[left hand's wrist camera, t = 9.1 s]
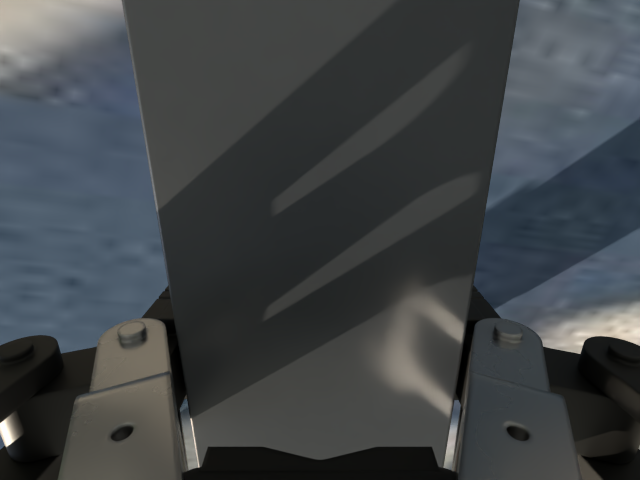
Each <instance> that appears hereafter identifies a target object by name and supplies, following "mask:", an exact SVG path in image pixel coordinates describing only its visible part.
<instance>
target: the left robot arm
mask: <svg viewBox="0 0 640 480" xmlns="http://www.w3.org/2000/svg"><path fill="white" fill-rule="evenodd" d="M184 399H187V395H186V389H185V383H184V376H183V370H182V364H181V358H180V352H179V346H178V340H177V334H176V328H175V321H174V315H173V309H172V303H171V297H170V291H169V285H168V287H167V288H166V289H165V291H163V293H162V294H161V295H160V296H159V299H157V300H156V301H155V302H154V303H153V305H152V306H151V307H150V308H149V309H148V311H147V312H146V313H145V314H144V316H143V317H142V318H139V319H133V320H129V321H126V322H123V323H120V324H118V325H116V326H114V327H112V328H110V329H109V330H107V331H106V332H105V333H104V334H103V335H102V336H101V337H100V338H99V340H98V344H97V347H94V348H89V349H83V350H78V351H73V352H67V353H62V354H61V352H60V349H59V345H58V342H57V340H56V339H55V338H53V337H51V336H45V335H38V336H29V337H24V338H20V339H17V340H13V341H11V342H8V343H5V344H3V345H1V346H0V434H1V436H2V439H3V441H4V444H5V446H4V447H3V448H2V449H1V450H0V480H640V450H639V449H638V448H639V445H640V346H638V345H636V344H634V343H631V342H628V341H625V340H621V339H617V338H612V337H604V336H597V337H591V338H588V339H587V340H585V342H584V345H583V348H582V351H581V354H577V353H572V352H566V351H561V350H556V349H551V348H546V347H543V344H542V340H541V338H540V337H539V336H538V335H537V334H536V333H535V332H534V331H533V330H531V329H530V328H528V327H526V326H524V325H522V324H520V323H517V322H514V321H511V320H507V319H501V318H500V316H499V315H498V314H497V313H496V312H495V310H494V309H493V308H492V307H491V306H490V304H489V303H488V302H487V301H486V300H485V299H484V297H483V296H482V295H481V294H480V292H478V291H477V289H476V288H475V287H474V285H473V289H472V295H471V301H470V307H469V313H468V319H467V325H466V331H465V338H464V344H463V350H462V356H461V362H460V368H459V374H458V380H457V386H456V393H455V399H454V400H459V402H460V404H461V408H460V414H459V420H458V427H457V434H456V442H455V449H454V457H453V464H452V471H451V470H448V469H445V468H442V467H438V464H437V460H436V457H435V454H434V451H433V448H432V447H373V448H369V449H365V450H361V451H357V452H353V453H349V454H345V455H341V456H337V457H332V458H328V459H323V460H317V459H312V458H308V457H303V456H299V455H295V454H291V453H287V452H283V451H279V450H275V449H271V448H267V447H208V448H207V451H206V454H205V457H204V460H203V464H202V467H198V468H195V469H192V470H189V471H188V464H187V457H186V449H185V442H184V434H183V427H182V420H181V414H180V407H181V405H182V403H183V401H184Z"/></svg>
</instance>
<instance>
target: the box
mask: <svg viewBox="0 0 640 480" xmlns="http://www.w3.org/2000/svg"><path fill="white" fill-rule="evenodd" d="M519 1H520V0H122V4H123V10H124V16H125V22H126V28H127V35H128V41H129V47H130V53H131V59H132V65H133V71H134V77H135V83H136V89H137V96H138V102H139V108H140V114H141V120H142V126H143V132H144V138H145V144H146V151H147V157H148V163H149V169H150V175H151V181H152V187H153V193H154V199H155V205H156V212H157V218H158V224H159V230H160V236H161V242H162V248H163V254H164V260H165V267H166V273H167V279H168V285H169V291H170V297H171V303H172V309H173V315H174V321H175V328H176V334H177V340H178V346H179V352H180V358H181V364H182V370H183V376H184V383H185V389H186V395H187V401H188V407H189V413H190V419H191V425H192V431H193V437H194V444H195V450H196V456H197V462H198V467H202V464H203V460H204V457H205V454H206V451H207V448H208V447H267V448H271V449H275V450H279V451H283V452H287V453H291V454H295V455H299V456H303V457H308V458H312V459H317V460H323V459H328V458H332V457H337V456H341V455H345V454H349V453H353V452H357V451H361V450H365V449H369V448H373V447H432V448H433V451H434V454H435V457H436V460H437V464H438V467H442V468H443V466H444V460H445V454H446V448H447V442H448V435H449V429H450V423H451V417H452V411H453V405H454V399H455V393H456V386H457V380H458V374H459V368H460V362H461V356H462V350H463V344H464V338H465V331H466V325H467V319H468V313H469V307H470V301H471V295H472V289H473V282H474V276H475V270H476V264H477V258H478V252H479V246H480V240H481V233H482V227H483V221H484V215H485V209H486V203H487V197H488V191H489V185H490V178H491V172H492V166H493V160H494V154H495V148H496V142H497V136H498V129H499V123H500V117H501V111H502V105H503V99H504V93H505V87H506V81H507V74H508V68H509V62H510V56H511V50H512V44H513V38H514V32H515V25H516V19H517V13H518V7H519Z"/></svg>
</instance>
